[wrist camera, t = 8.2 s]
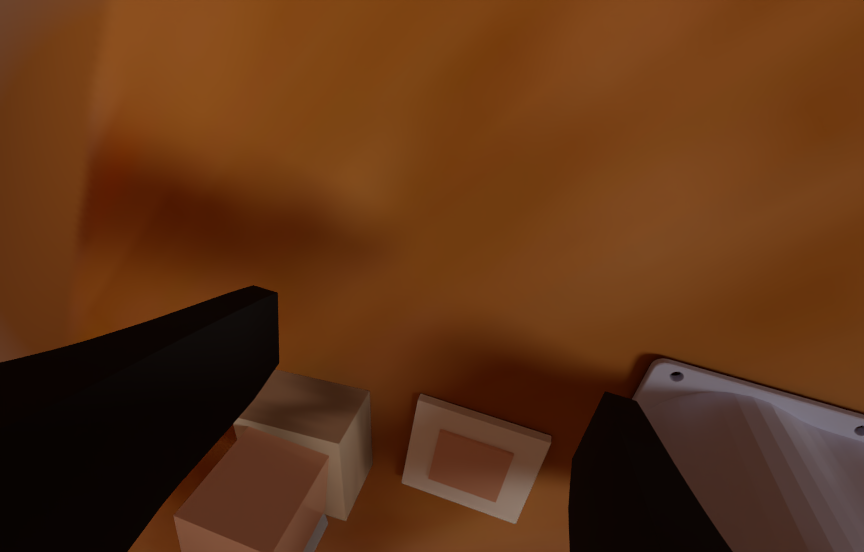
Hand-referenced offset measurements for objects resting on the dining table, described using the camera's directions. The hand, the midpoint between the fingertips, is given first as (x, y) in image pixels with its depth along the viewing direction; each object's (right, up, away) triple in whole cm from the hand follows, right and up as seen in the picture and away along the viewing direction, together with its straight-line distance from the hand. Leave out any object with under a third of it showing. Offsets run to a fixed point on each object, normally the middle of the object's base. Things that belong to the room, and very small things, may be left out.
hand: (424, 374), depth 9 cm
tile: (+2, -8, +15) cm, 17 cm away
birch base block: (-6, -6, +17) cm, 19 cm away
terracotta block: (-7, -8, +14) cm, 18 cm away
